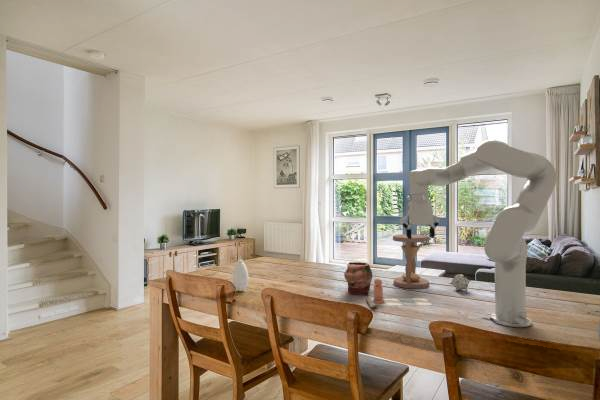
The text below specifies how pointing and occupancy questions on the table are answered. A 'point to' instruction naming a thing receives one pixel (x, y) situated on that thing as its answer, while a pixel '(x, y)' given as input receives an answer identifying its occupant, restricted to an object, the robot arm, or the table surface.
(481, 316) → the table surface
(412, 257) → the wooden pedestal stand
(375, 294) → the pawn
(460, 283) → the game die
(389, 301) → the board
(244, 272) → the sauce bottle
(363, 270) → the decorative planter
